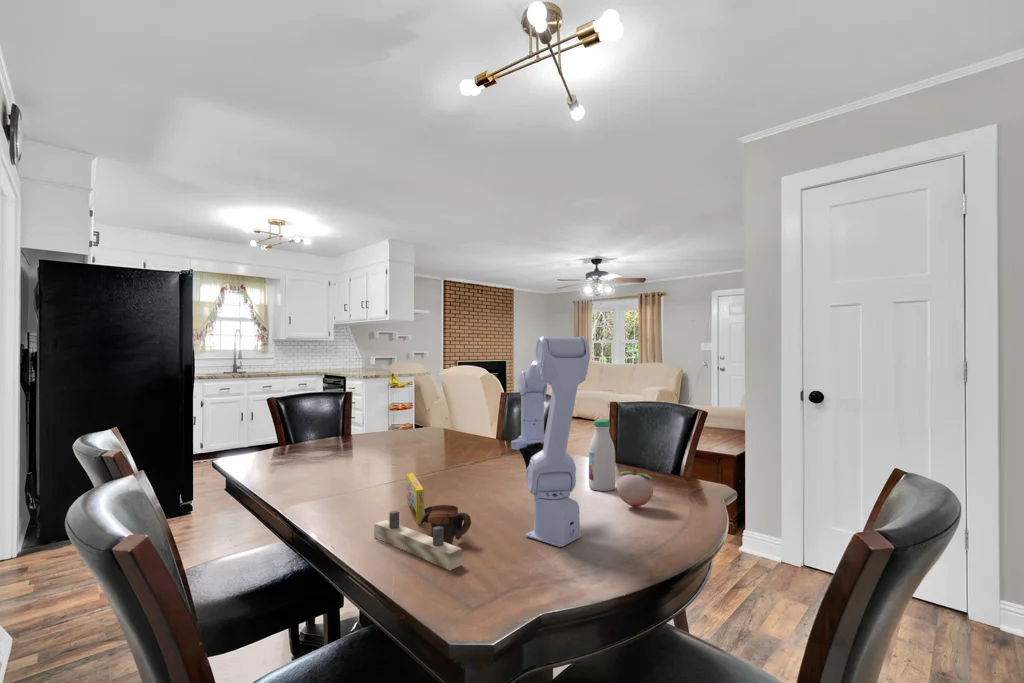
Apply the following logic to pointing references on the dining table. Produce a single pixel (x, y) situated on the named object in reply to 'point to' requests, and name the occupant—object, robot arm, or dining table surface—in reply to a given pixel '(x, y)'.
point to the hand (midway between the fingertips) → (532, 474)
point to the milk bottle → (602, 458)
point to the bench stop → (419, 542)
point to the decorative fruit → (635, 488)
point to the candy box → (415, 497)
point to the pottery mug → (447, 521)
